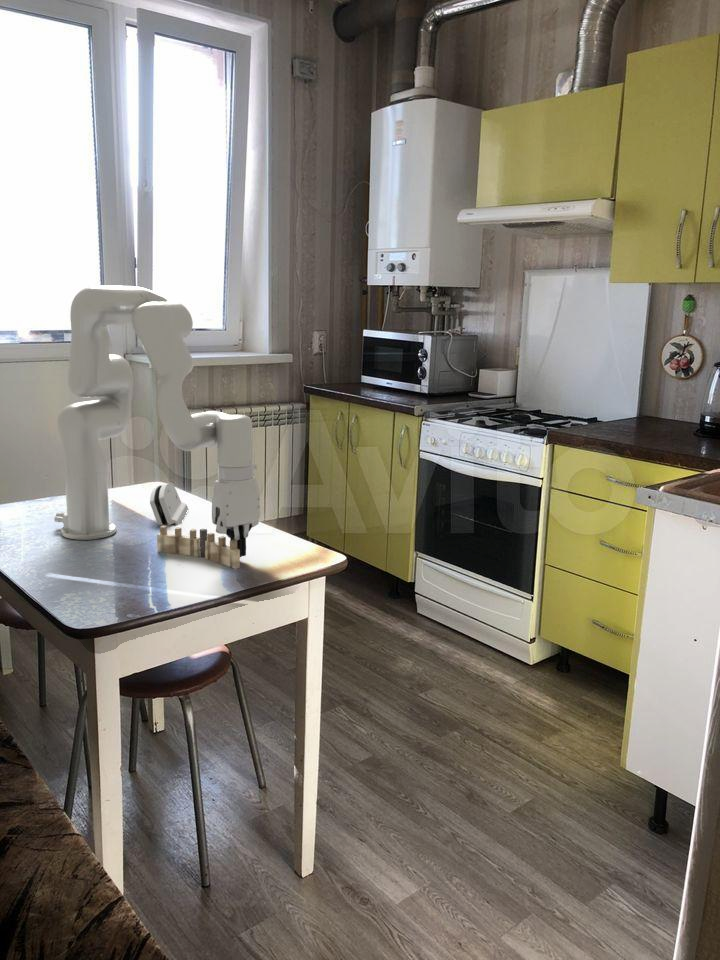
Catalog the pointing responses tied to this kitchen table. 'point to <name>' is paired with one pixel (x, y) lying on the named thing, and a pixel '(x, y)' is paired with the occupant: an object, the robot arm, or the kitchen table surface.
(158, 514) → the black-banded white body
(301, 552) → the kitchen table surface
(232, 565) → the fence flap
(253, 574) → the kitchen table surface
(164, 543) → the fence fixed
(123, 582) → the kitchen table surface
